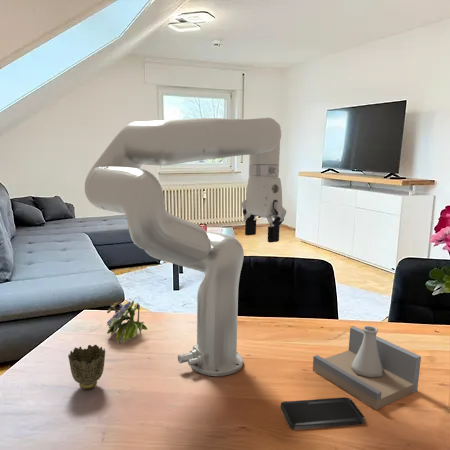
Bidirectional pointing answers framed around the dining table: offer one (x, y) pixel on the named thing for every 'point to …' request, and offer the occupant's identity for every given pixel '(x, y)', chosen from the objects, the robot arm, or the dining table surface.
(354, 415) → the phone
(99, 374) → the cup
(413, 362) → the wall shelf
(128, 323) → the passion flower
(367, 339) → the flask
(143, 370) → the dining table surface
